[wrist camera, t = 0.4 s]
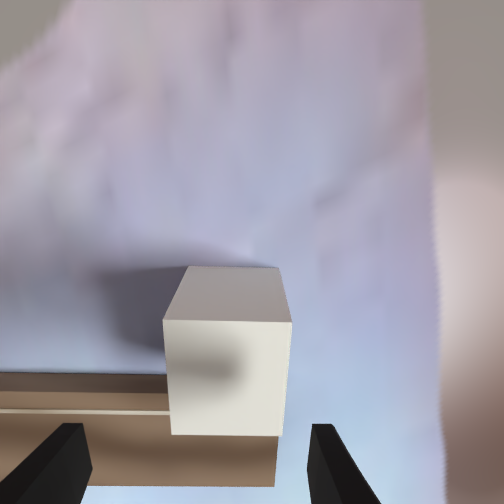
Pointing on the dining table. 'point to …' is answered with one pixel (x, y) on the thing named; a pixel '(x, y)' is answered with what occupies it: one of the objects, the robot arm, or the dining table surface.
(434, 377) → the dining table surface
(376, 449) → the dining table surface
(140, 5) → the dining table surface
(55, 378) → the walnut board
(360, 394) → the dining table surface
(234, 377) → the block
